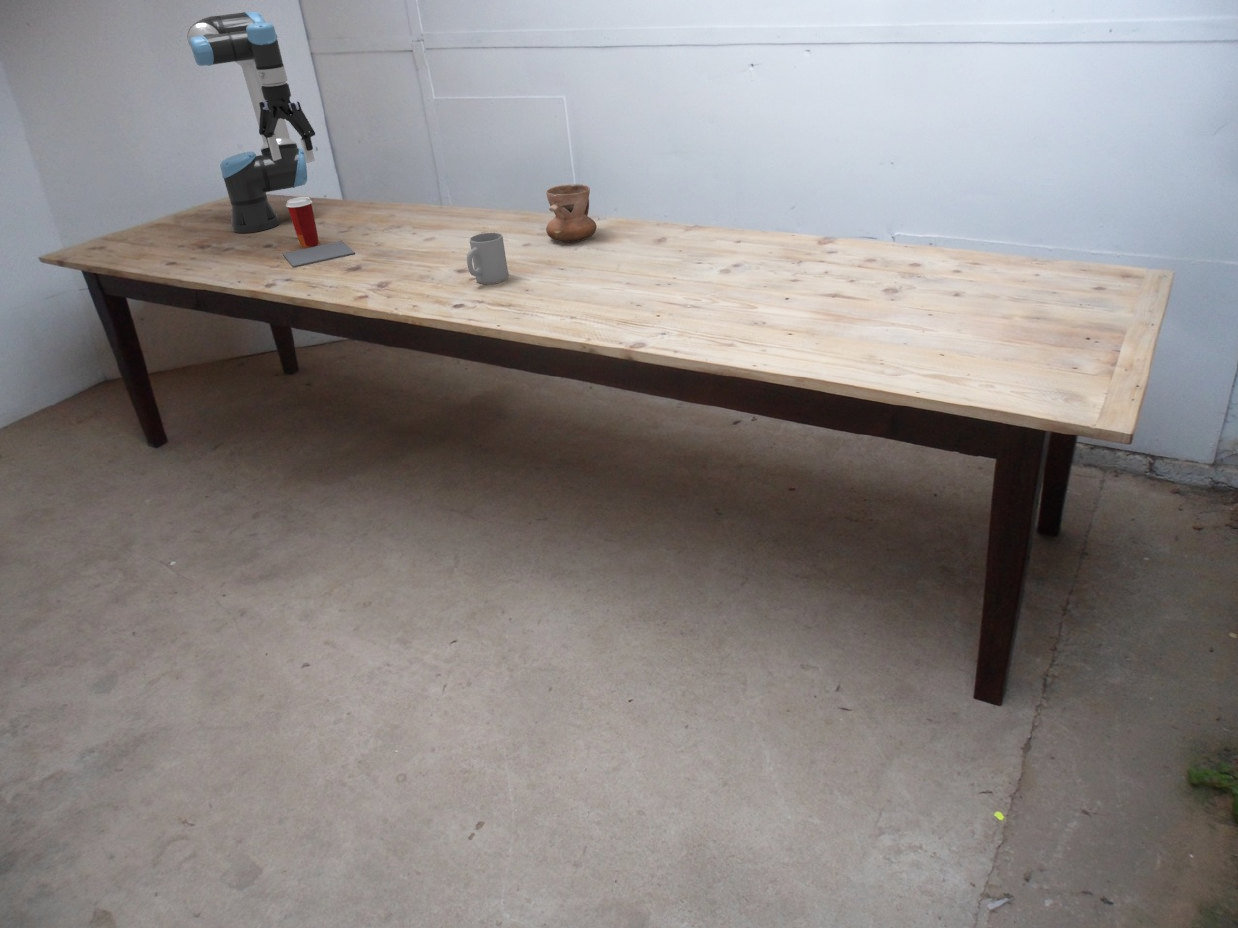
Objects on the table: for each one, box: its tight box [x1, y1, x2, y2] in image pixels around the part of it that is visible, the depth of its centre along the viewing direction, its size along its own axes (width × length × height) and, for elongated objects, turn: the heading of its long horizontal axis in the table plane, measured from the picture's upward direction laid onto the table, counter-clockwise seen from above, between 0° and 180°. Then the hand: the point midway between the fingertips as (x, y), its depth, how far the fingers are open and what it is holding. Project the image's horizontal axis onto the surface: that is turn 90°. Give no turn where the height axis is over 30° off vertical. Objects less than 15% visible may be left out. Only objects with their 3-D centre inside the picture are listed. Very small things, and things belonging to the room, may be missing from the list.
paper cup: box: [285, 196, 320, 249], centre depth 277 cm, size 8×8×14 cm
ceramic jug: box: [545, 183, 597, 243], centre depth 259 cm, size 18×14×14 cm
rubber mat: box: [282, 240, 356, 268], centre depth 271 cm, size 16×18×1 cm
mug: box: [466, 232, 509, 285], centre depth 233 cm, size 12×8×11 cm
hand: (293, 160), depth 269 cm, fingers open, 13 cm apart
